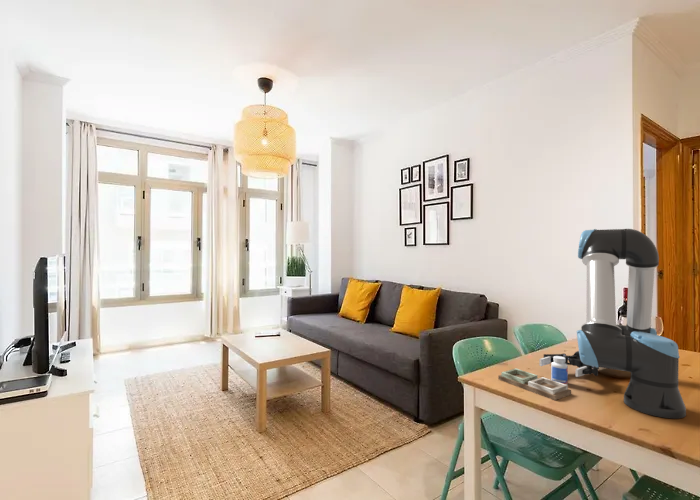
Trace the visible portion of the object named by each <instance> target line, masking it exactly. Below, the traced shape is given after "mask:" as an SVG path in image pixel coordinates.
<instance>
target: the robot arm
mask: <svg viewBox="0 0 700 500" xmlns="http://www.w3.org/2000/svg"><path fill="white" fill-rule="evenodd" d="M578 243H579V244H578V250H577V258H578V259H580V260H581V262H582V263H583V264H584V266H586V322H585V323H583V324H582V325H581V328H580V329H579V330H576V338H577V348H578V350H577V351H575V352H574V354H572V355H567V354H566V353H546V354H545V353H544V354H543V357H542V358H539V359H538V360H539V366H540V367H543V366H546V365H551V363H552V362H554V360H553V357H554V356H561V357H565V358H566V362H565V363H566V364H567V366H574V367H577V368H575V377H576V378H579V377H582V376H585V375H586V376H587V375H592V374H593V375H594V376H596V377H597V376H599V370H600V368H603V369H608V370H617V371H622V372H627V373H630V379H629V382H628V385H627V387H626V389H625V391H624V393H623V394H624V395H623V403H624V404H625V405H626V406H627V407H629V408H631V409H633V410H635V411H638V412H640V413H643V414H646V415H649V416H653V417H659V418H662V419H663V418H665V419H674V420H675V419H676V420H677V419H682V418H683V419H684V418H685V417H686V416H687V408H686V405H685V402H684V399H683V397H682V394H681V393H680V390H679V367H680V366H679V362H680V361H679V359H680V352H679V346H678V343H677V342H676V341H674V340H672V339H670V338H668V337H665V336H662V335H658V334H657V329H656V328H654V327H651V326H652V325H651V324H652V314H653V313H652V310H653V298H654V297H653V296H654V284H655V283H654V280H655V270H656V269H655V268H657V267H658V266H659V262H660V261H659V260H660V256H659V252H658V249H657V247H656V245H655V244H654V242H653V241H652V239H651V238H650V237H649V236H647V235H646V234H644V233H643V232H641V230H640V231H639V230H637V229H632V228H622V229H621V228H618V229H617V228H615V229H614V228H612V229H611V228H610V229H596V228H594V229H585V230H583V231H582V232H581V234H580V238H579V242H578ZM620 260H625V264H626V266H628V278H627V279H628V281H627V282H628V283H627V303H626V304H627V305H626V306H627V307H626V310H627V311H626V325H622V324H617V314H616V283H615V282H616V280H615V266H617V265H618V264H619V262H620Z"/></svg>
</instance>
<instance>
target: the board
mask: <svg viewBox="0 0 700 500" xmlns="http://www.w3.org/2000/svg"><path fill="white" fill-rule="evenodd" d="M538 377H539V375H538V374H534V373H531V372H528V371H526V370H522V369H519V368H512V369H509V370H506V371H502V372H501V374H499V375H498V377H497V378H498V381H501V382H503V383H507V384H510V385H513V386H515V387H517V388H521V389H523V390H526V391H529V392H531V393H534V394H537V395H540V396H543V397H545V398H547V399H550V400H552V401H558V400H560V399H563V398H565V397H568V396H570V395H572V389H569V388H568V387H569V386H568V384H567V385H566V384H563V383H560V382H556V381H553V380H551V379H550V378H546V377H544V376H542V377H541V376H540V377H539V378H538Z"/></svg>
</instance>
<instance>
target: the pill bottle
mask: <svg viewBox="0 0 700 500" xmlns="http://www.w3.org/2000/svg"><path fill="white" fill-rule="evenodd" d="M553 360H554V362H552V363H551V364H550V366H551V367H550V369H551V373H550V375H551V376H550V377H551V379H550V380H553V381H556V382H560V383H563V384H566V385H568V382H569V380H568V379H569V378H568V375H569V370H568V368H569V367H568V366H569V365H567V364H566V363H565V362H566V358H565V357H561V356H554V357H553Z"/></svg>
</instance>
